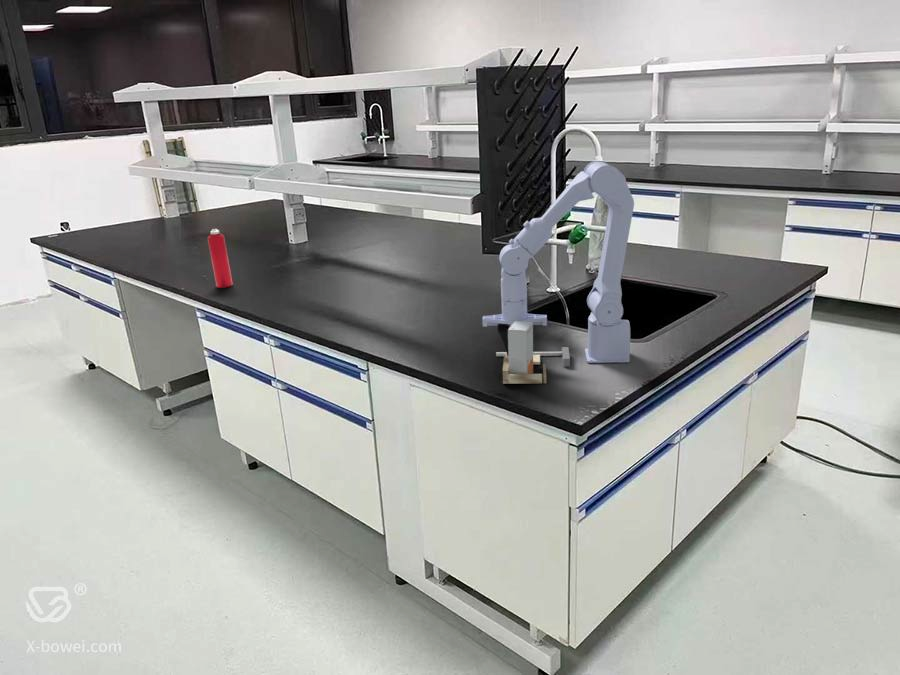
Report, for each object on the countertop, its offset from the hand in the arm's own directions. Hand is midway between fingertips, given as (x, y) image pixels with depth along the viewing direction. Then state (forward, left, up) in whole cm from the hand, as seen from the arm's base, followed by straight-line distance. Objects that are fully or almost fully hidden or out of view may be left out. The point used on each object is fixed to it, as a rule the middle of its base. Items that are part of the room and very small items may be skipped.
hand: (515, 354), depth 157 cm
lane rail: (-4, 0, -2) cm, 4 cm away
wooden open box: (-2, +5, -2) cm, 6 cm away
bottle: (+103, -70, -2) cm, 125 cm away
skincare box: (-2, +8, -2) cm, 9 cm away
